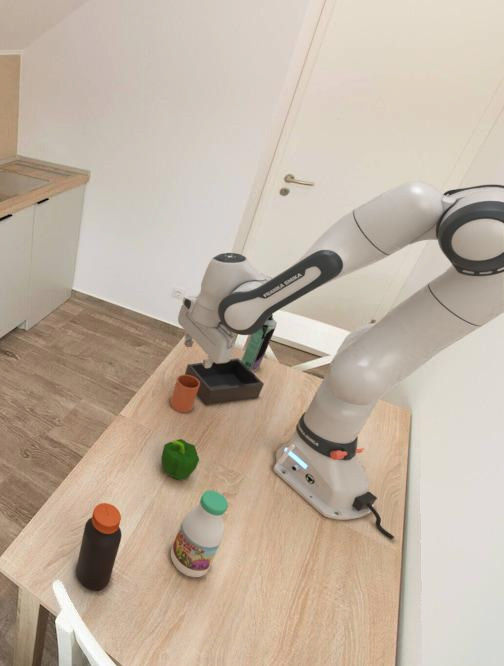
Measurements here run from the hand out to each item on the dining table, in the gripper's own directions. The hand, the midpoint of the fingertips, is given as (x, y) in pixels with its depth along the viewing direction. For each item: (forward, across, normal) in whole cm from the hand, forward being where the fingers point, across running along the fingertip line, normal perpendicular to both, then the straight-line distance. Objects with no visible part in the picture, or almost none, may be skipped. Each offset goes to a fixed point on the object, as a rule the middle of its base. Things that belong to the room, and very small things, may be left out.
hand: (196, 355), depth 129 cm
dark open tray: (+18, +4, -16) cm, 24 cm away
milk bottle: (+18, -45, +23) cm, 53 cm away
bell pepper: (+18, -23, +14) cm, 32 cm away
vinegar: (+18, -44, +44) cm, 64 cm away
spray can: (+18, +12, -32) cm, 38 cm away
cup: (+18, -1, 0) cm, 18 cm away
